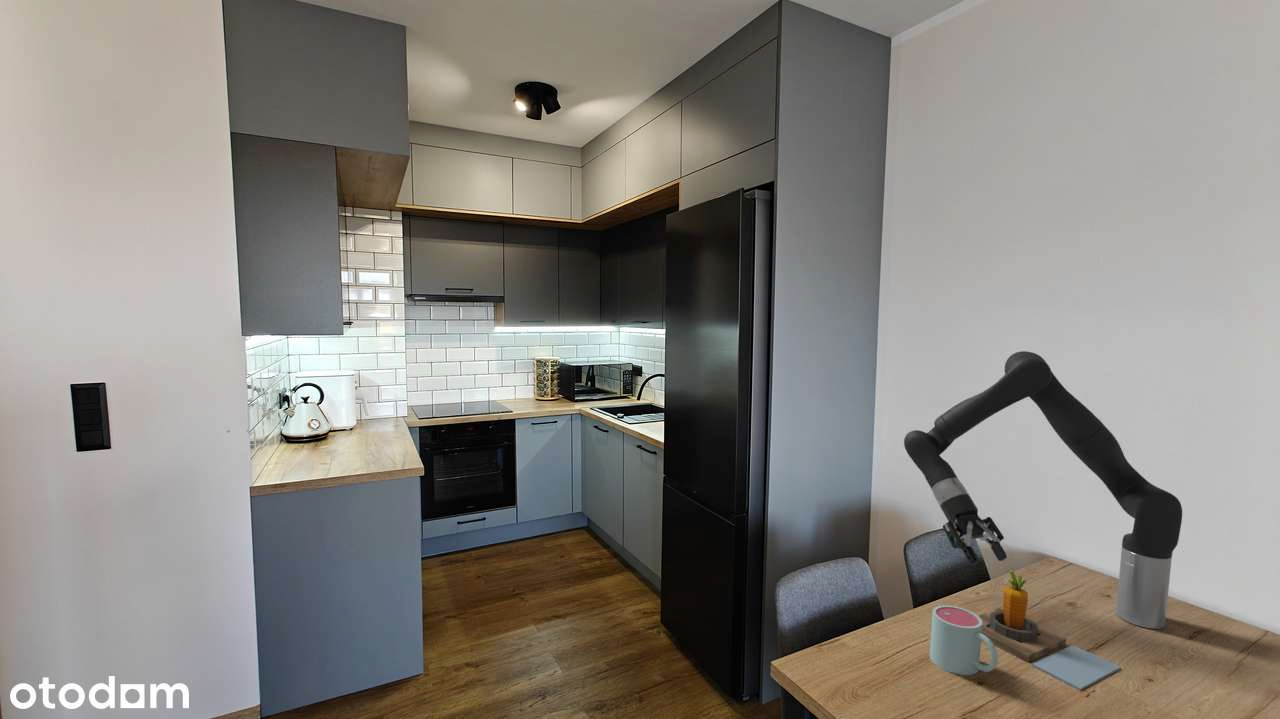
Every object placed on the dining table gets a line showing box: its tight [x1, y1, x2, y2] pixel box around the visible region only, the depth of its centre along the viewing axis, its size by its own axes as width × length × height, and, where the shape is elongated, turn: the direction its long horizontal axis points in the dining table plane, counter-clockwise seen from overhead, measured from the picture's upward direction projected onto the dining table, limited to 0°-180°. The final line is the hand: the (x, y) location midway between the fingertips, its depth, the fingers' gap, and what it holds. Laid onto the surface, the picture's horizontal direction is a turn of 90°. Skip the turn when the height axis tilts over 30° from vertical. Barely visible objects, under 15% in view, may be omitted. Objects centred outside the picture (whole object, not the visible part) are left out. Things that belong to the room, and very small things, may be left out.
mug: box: [929, 605, 999, 676], centre depth 121 cm, size 14×9×10 cm
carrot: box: [1002, 570, 1029, 630], centre depth 134 cm, size 5×5×15 cm
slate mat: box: [1031, 644, 1121, 691], centre depth 123 cm, size 16×9×1 cm, turn 118°
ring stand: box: [978, 608, 1067, 663], centre depth 134 cm, size 15×15×4 cm
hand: (989, 561), depth 140 cm, fingers open, 8 cm apart
